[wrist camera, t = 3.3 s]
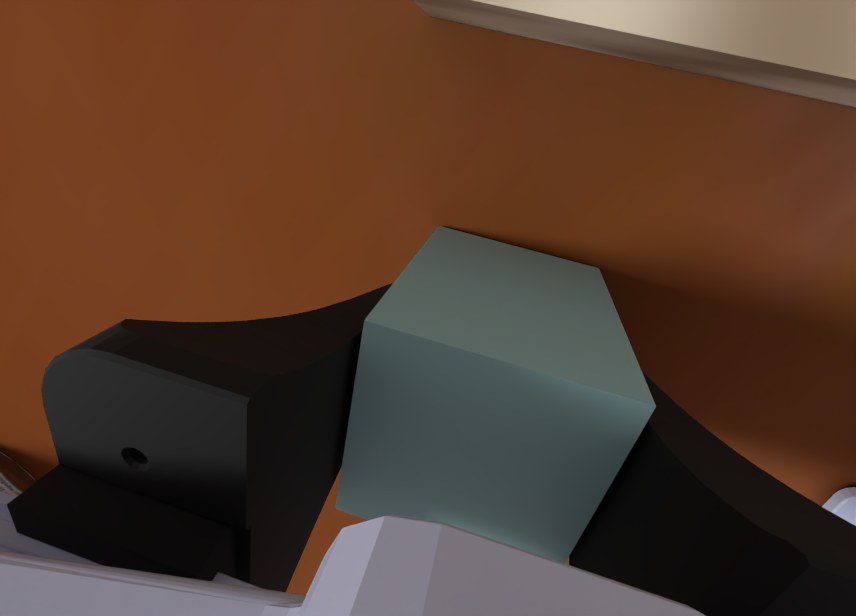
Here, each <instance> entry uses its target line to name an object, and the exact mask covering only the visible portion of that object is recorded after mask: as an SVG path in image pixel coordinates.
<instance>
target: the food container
mask: <svg viewBox="0 0 856 616" xmlns="http://www.w3.org/2000/svg"><path fill="white" fill-rule="evenodd" d="M36 482H37V480H36V479H34V478H33V477H32V476H31V475H30V474H29V473H28V472H27V471H25V470H24V469H23V468H22V467H21V466H20V465H19V464H18V463H17V462H15V461H14V460H12V459H11V458H9V457H8V456H6V455H5V454H3V453H2V452H0V491H2V492H5V493H8V494H10V495H13V496H16V497H17V496H18V495H20V494H21V493H22V492H24V491H25V490H26V489H28V488H29V487H30V486H32V485H33V484H34V483H36Z"/></svg>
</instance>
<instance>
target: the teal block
mask: <svg viewBox="0 0 856 616" xmlns="http://www.w3.org/2000/svg"><path fill="white" fill-rule="evenodd" d="M655 408H656V405H655V402H654V400H653V397H652V395H651V393H650V390H649V388H648V385H647V383H646V381H645V378H644V376H643V373H642V371H641V369H640V366H639V364H638V361H637V359H636V356H635V354H634V352H633V349H632V347H631V344H630V342H629V340H628V337H627V335H626V332H625V330H624V327H623V325H622V323H621V320H620V318H619V315H618V313H617V311H616V308H615V306H614V303H613V301H612V298H611V296H610V294H609V291H608V289H607V286H606V284H605V282H604V279H603V277H602V274H601V272H600V270H599V268H596V267H592V266H589V265H585V264H581V263H577V262H574V261H570V260H566V259H562V258H559V257H555V256H551V255H547V254H543V253H540V252H536V251H532V250H528V249H525V248H521V247H517V246H513V245H510V244H506V243H502V242H498V241H495V240H491V239H487V238H483V237H479V236H476V235H472V234H468V233H464V232H461V231H457V230H453V229H449V228H446V227H442V226H438V227H437V228H436V230H435V231H434V232H433V233H432V235H431V236H430V237H429V238H428V240H427V241H426V242H425V244H424V245H423V246H422V247H421V249H420V250H419V251H418V252H417V254H416V255H415V256H414V258H413V259H412V260H411V261H410V263H409V264H408V265H407V266H406V268H405V269H404V270H403V272H402V273H401V274H400V275H399V277H398V278H397V279H396V280H395V282H394V283H393V284H392V286H391V287H390V288H389V289H388V291H387V292H386V293H385V294H384V296H383V297H382V298H381V300H380V301H379V302H378V303H377V305H376V306H375V307H374V308H373V310H372V311H371V312H370V314H369V315H368V316H367V317H366V319H365V320H364V325H363V331H362V338H361V344H360V351H359V357H358V364H357V370H356V377H355V383H354V390H353V396H352V403H351V409H350V416H349V422H348V429H347V435H346V442H345V448H344V455H343V461H342V468H341V474H340V481H339V487H338V494H337V500H336V507H335V509H337V510H340V511H343V512H346V513H349V514H352V515H355V516H357V517H360V518H363V519H366V520H372V519H375V518H379V517H382V516H386V515H391V514H393V515H400V516H406V517H413V518H419V519H426V520H433V521H439V522H443V523H446V524H449V525H452V526H455V527H458V528H461V529H464V530H467V531H470V532H473V533H476V534H479V535H482V536H485V537H487V538H490V539H493V540H496V541H499V542H502V543H505V544H508V545H511V546H514V547H517V548H520V549H523V550H526V551H529V552H532V553H535V554H537V555H540V556H543V557H546V558H549V559H552V560H555V561H558V562H561V563H564V564H565V562H566V561H567V559H568V557H569V556H570V554H571V552H572V550H573V549H574V547H575V545H576V543H577V542H578V540H579V538H580V537H581V535H582V533H583V531H584V530H585V528H586V526H587V525H588V523H589V521H590V519H591V518H592V516H593V514H594V513H595V511H596V509H597V507H598V506H599V504H600V502H601V500H602V499H603V497H604V495H605V494H606V492H607V490H608V488H609V487H610V485H611V483H612V482H613V480H614V478H615V476H616V475H617V473H618V471H619V470H620V468H621V466H622V464H623V463H624V461H625V459H626V458H627V456H628V454H629V452H630V451H631V449H632V447H633V445H634V444H635V442H636V440H637V439H638V437H639V435H640V433H641V432H642V430H643V428H644V427H645V425H646V423H647V421H648V420H649V418H650V416H651V415H652V413H653V411H654V409H655Z"/></svg>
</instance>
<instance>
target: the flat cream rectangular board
mask: <svg viewBox="0 0 856 616" xmlns="http://www.w3.org/2000/svg"><path fill="white" fill-rule="evenodd" d="M412 1H413V2H414V3H415V4H417V5H418V6H419V7H420V8H421V9H422V10H423V11H424V12H426V13H427V14H428V15H429V16H430V17H434V18H439V19H444V20H448V21H453V22H458V23H463V24H467V25H472V26H477V27H481V28H486V29H491V30H495V31H500V32H505V33H509V34H514V35H519V36H523V37H528V38H533V39H538V40H542V41H547V42H552V43H556V44H561V45H566V46H570V47H575V48H580V49H584V50H589V51H594V52H598V53H603V54H608V55H613V56H617V57H622V58H627V59H631V60H636V61H641V62H645V63H650V64H655V65H659V66H664V67H669V68H673V69H678V70H683V71H688V72H692V73H697V74H702V75H706V76H711V77H716V78H720V79H725V80H730V81H734V82H739V83H744V84H749V85H753V86H758V87H763V88H767V89H772V90H777V91H781V92H786V93H791V94H795V95H800V96H805V97H809V98H814V99H819V100H824V101H828V102H833V103H838V104H842V105H847V106H852V107H856V0H412Z"/></svg>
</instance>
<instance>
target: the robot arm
mask: <svg viewBox="0 0 856 616" xmlns="http://www.w3.org/2000/svg"><path fill="white" fill-rule="evenodd" d="M392 284H393V283H392ZM392 284H389V285H386V286H384V287H381V288H378V289H376V290H373V291H371V292H368V293H365V294H363V295H360V296H357V297H355V298H352V299H349V300H346V301H343V302H340V303H336V304H333V305H330V306H327V307H324V308H320V309H316V310H312V311H308V312H303V313H298V314H293V315H288V316H282V317H274V318H265V319H256V320H248V321H233V322H168V321H148V320H133V319H125V320H123V321H121V322H120V323H118V324H116V325H114V326H112V327H110V328H108V329H106V330H105V331H103V332H101V333H99V334H97V335H95V336H93V337H91V338H89V339H88V340H86V341H84V342H82V343H80V344H78V345H76V346H74V347H73V348H71V349H69V350H67V351H65V352H63V353H61V354H59V355H58V356H56V357H54V359H53V360H52V361H51V362H50V364H49V365H48V366H47V368H46V369H45V373H44V378H43V382H42V389H41V390H42V398H43V405H44V409H45V413H46V417H47V420H48V424H49V427H50V431H51V435H52V438H53V442H54V445H55V449H56V453H57V456H58V460H59V463H60V464H59V465H58V466H57V467H55V468H54V469H53V470H51V471H50V472H49V473H47V474H46V475H45V476H43V477H42V478H41V479H39V480H38V481H37V482H36V483H34V484H33V485H32V486H30V487H29V488H28V489H26V490H25V491H24V492H22V493H21V494H20V495H18V496H17V497H16V496H13V495H10V494H8V493H5V492H2V491H0V616H856V487H850V488H844V489H841V490H839V491H837V492H836V493H835V494H834V495H833V496H832V497H831V498H830V499H829V500H828V501H827V502H826V503H825V504H824V505H823V506H822V507H821V506H819V505H818V504H816V503H814V502H813V501H811V500H809V499H808V498H806V497H804V496H803V495H801V494H799V493H798V492H796V491H794V490H793V489H791V488H790V487H788V486H787V485H785V484H783V483H782V482H780V481H779V480H777V479H776V478H774V477H773V476H771V475H770V474H768V473H767V472H765V471H763V470H762V469H760V468H759V467H757V466H756V465H754V464H753V463H751V462H750V461H749V460H747V459H746V458H744V457H743V456H741V455H740V454H739V453H737V452H736V451H734V450H733V449H732V448H730V447H729V446H728V445H726V444H725V443H724V442H722V441H721V440H720V439H718V438H717V437H716V436H714V435H713V434H712V433H710V432H709V431H708V430H707V429H705V428H704V427H703V426H702V425H701V424H699V423H698V422H697V421H696V420H695V419H693V418H692V417H691V416H690V415H689V414H688V413H686V412H685V411H684V410H683V409H682V408H681V407H680V406H678V405H677V404H676V403H675V402H674V401H673V400H672V399H671V398H670V397H668V396H667V395H666V394H665V393H664V392H663V391H662V390H661V389H660V388H659V387H658V386H657V385H656V384H655V383H654V382H653V381H652V380H651V379H650V378H648V377H647V376H646V375H645V374H644V373H643V372H642V373H643V376H644V378H645V381H646V383H647V385H648V388H649V390H650V393H651V395H652V397H653V400H654V402H655V405H656V408H655V409H654V411H653V413H652V415H651V416H650V418H649V420H648V421H647V423H646V425H645V427H644V428H643V430H642V432H641V433H640V435H639V437H638V439H637V440H636V442H635V444H634V445H633V447H632V449H631V451H630V452H629V454H628V456H627V458H626V459H625V461H624V463H623V464H622V466H621V468H620V470H619V471H618V473H617V475H616V476H615V478H614V480H613V482H612V483H611V485H610V487H609V488H608V490H607V492H606V494H605V495H604V497H603V499H602V500H601V502H600V504H599V506H598V507H597V509H596V511H595V513H594V514H593V516H592V518H591V519H590V521H589V523H588V525H587V526H586V528H585V530H584V531H583V533H582V535H581V537H580V538H579V540H578V542H577V543H576V545H575V547H574V549H573V550H572V552H571V554H570V556H569V565H567V564H564V563H561V562H558V561H555V560H552V559H549V558H546V557H543V556H540V555H537V554H535V553H532V552H529V551H526V550H523V549H520V548H517V547H514V546H511V545H508V544H505V543H502V542H499V541H496V540H493V539H490V538H487V537H485V536H482V535H479V534H476V533H473V532H470V531H467V530H464V529H461V528H458V527H455V526H452V525H449V524H446V523H443V522H439V521H433V520H426V519H419V518H413V517H406V516H400V515H393V514H391V515H386V516H382V517H379V518H375V519H372V520H369V521H365V522H362V523H358V524H355V525H351V526H348V527H345V528H342V530H341V531H340V533H339V534H338V536H337V537H336V539H335V540H334V542H333V544H332V545H331V547H330V548H329V550H328V551H327V553H326V554H325V556H324V558H323V560H322V562H321V565H320V567H319V569H318V571H317V573H316V575H315V577H314V580H313V582H312V584H311V586H310V588H309V590H308V593H307V595H301V594H294V593H287V592H286V590H287V588H288V585H289V583H290V581H291V578H292V576H293V573H294V571H295V569H296V567H297V564H298V562H299V560H300V557H301V555H302V553H303V550H304V548H305V546H306V544H307V541H308V539H309V537H310V534H311V532H312V530H313V527H314V525H315V523H316V521H317V519H318V516H319V514H320V512H321V510H322V508H323V505H324V503H325V501H326V499H327V496H328V494H329V492H330V490H331V488H332V486H333V483H334V481H335V479H336V477H337V475H338V473H339V471H340V468H341V466H342V461H343V455H344V448H345V442H346V435H347V429H348V422H349V416H350V409H351V403H352V396H353V390H354V383H355V377H356V370H357V364H358V357H359V351H360V344H361V338H362V331H363V325H364V320H365V319H366V317H367V316H368V315H369V314H370V312H371V311H372V310H373V308H374V307H375V306H376V305H377V303H378V302H379V301H380V300H381V298H382V297H383V296H384V294H385V293H386V292H387V291H388V289H389V288H390V287H391V286H392Z"/></svg>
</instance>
